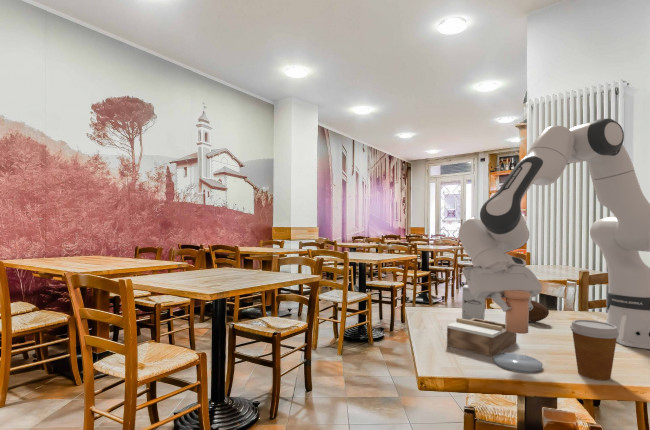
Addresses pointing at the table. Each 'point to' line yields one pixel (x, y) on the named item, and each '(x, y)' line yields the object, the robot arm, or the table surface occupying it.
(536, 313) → the potato
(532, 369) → the saucer
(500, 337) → the wooden box
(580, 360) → the disposable coffee cup
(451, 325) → the lid panel
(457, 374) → the table surface
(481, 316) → the supplement box
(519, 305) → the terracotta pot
